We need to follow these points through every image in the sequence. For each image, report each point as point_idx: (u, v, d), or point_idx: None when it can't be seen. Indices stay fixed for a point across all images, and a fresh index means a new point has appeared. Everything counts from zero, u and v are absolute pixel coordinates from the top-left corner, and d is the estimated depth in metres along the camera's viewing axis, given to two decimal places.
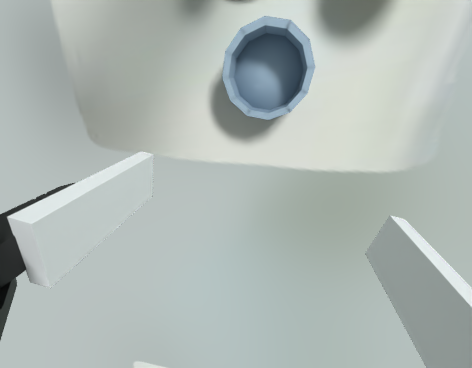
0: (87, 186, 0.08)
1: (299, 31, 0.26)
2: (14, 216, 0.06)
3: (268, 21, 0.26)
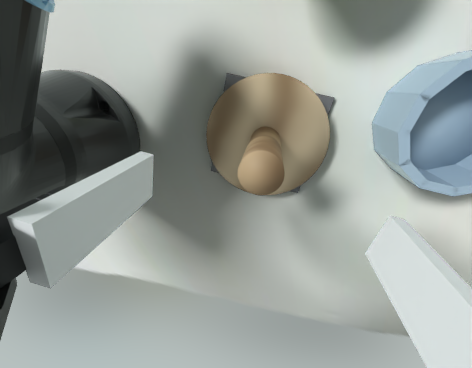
0: (87, 186, 0.08)
1: (442, 78, 0.17)
2: (14, 216, 0.06)
3: (407, 127, 0.18)
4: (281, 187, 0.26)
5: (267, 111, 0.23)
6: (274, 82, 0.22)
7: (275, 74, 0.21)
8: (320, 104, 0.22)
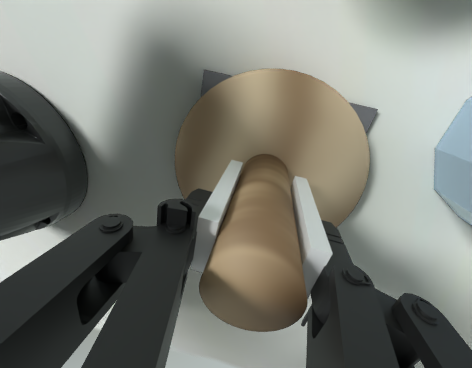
0: (224, 191, 0.10)
1: None
2: (202, 216, 0.08)
3: None
4: None
5: (268, 131, 0.14)
6: (280, 85, 0.13)
7: (281, 71, 0.13)
8: (356, 121, 0.13)
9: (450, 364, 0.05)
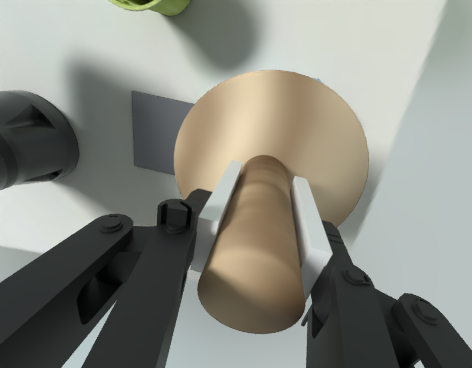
0: (224, 191, 0.10)
1: None
2: (202, 216, 0.08)
3: None
4: None
5: (267, 132, 0.14)
6: (279, 86, 0.13)
7: (280, 72, 0.13)
8: (355, 122, 0.13)
9: (450, 364, 0.05)
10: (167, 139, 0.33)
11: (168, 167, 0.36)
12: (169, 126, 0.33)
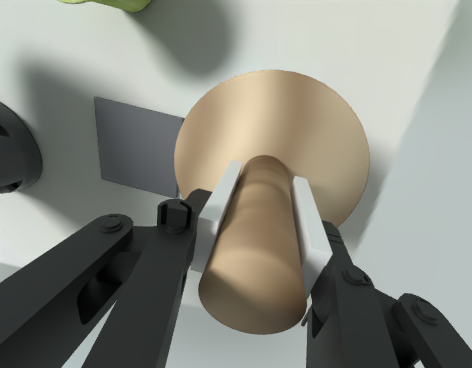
0: (224, 191, 0.10)
1: None
2: (202, 216, 0.08)
3: None
4: None
5: (268, 132, 0.14)
6: (279, 86, 0.13)
7: (281, 72, 0.13)
8: (356, 122, 0.13)
9: (450, 364, 0.05)
10: (135, 151, 0.30)
11: (138, 182, 0.32)
12: (137, 137, 0.29)
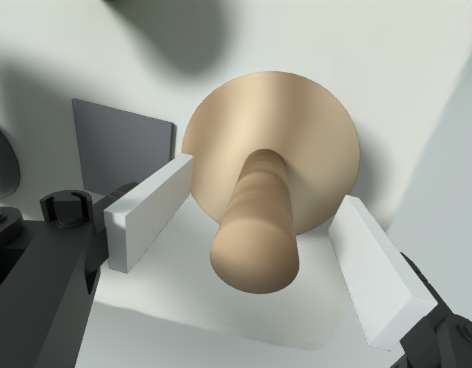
0: (152, 184, 0.09)
1: None
2: (109, 209, 0.07)
3: None
4: None
5: (268, 128, 0.16)
6: (278, 86, 0.14)
7: (279, 73, 0.14)
8: (347, 118, 0.14)
9: None
10: (120, 160, 0.26)
11: None
12: (121, 144, 0.26)
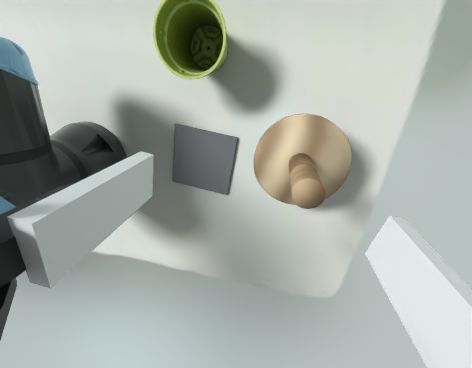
0: (87, 186, 0.08)
1: None
2: (14, 216, 0.06)
3: None
4: None
5: (303, 142, 0.30)
6: (309, 121, 0.29)
7: (310, 116, 0.28)
8: (344, 137, 0.29)
9: None
10: (200, 161, 0.41)
11: (200, 183, 0.44)
12: (203, 151, 0.40)
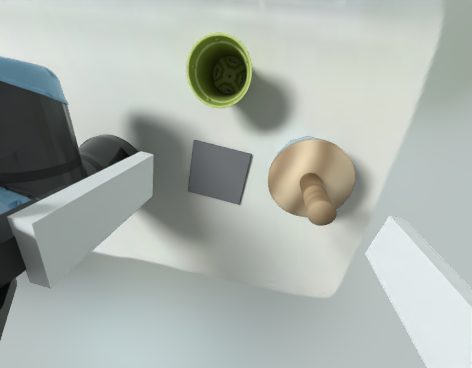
0: (87, 186, 0.08)
1: None
2: (14, 216, 0.06)
3: None
4: None
5: (313, 164, 0.34)
6: (319, 146, 0.33)
7: (320, 142, 0.33)
8: (349, 160, 0.33)
9: None
10: (216, 174, 0.45)
11: (214, 193, 0.47)
12: (218, 165, 0.44)
